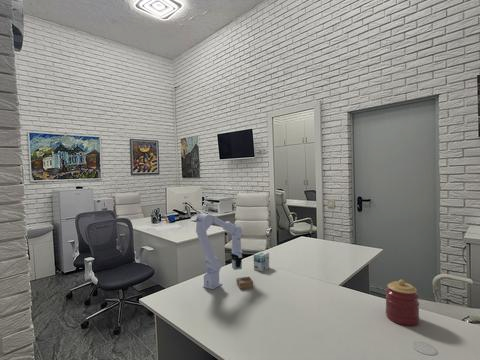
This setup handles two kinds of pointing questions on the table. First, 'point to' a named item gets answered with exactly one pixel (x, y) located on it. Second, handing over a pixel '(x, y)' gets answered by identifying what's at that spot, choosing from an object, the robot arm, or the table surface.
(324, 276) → the table surface
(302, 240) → the table surface
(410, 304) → the canister
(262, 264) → the light bulb box
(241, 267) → the slate cube
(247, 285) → the walnut block
